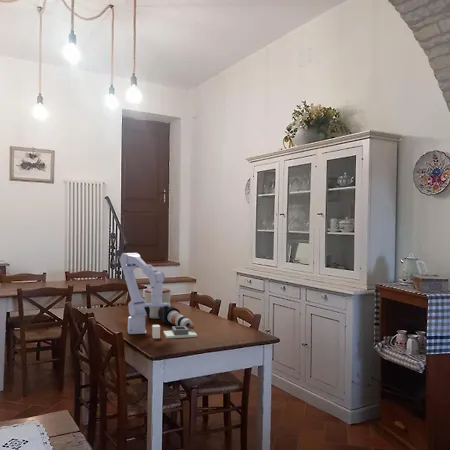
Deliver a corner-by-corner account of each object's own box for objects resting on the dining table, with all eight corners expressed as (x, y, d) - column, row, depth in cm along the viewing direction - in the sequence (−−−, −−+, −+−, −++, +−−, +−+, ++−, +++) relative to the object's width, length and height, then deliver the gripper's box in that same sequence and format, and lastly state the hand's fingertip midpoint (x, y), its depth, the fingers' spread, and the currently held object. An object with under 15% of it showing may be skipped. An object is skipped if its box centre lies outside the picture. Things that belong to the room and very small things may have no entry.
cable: (188, 340, 256) (181, 325, 253) (161, 323, 285) (155, 309, 281) (203, 330, 261) (196, 315, 258) (175, 314, 289) (169, 301, 286)
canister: (174, 315, 308) (174, 282, 308) (168, 320, 290) (168, 286, 290) (147, 314, 310) (147, 282, 310) (139, 319, 292) (139, 285, 292)
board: (166, 338, 246) (166, 331, 246) (163, 333, 257) (163, 326, 257) (196, 336, 250) (197, 329, 250) (192, 331, 261) (192, 325, 261)
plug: (153, 338, 245) (153, 326, 245) (152, 336, 250) (152, 324, 250) (160, 338, 246) (160, 326, 246) (158, 336, 251) (158, 324, 251)
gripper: (143, 296, 242) (143, 323, 242) (171, 295, 246) (171, 322, 246) (142, 294, 249) (141, 320, 249) (169, 293, 253) (169, 319, 253)
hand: (156, 321), depth 248 cm, fingers open, 7 cm apart
